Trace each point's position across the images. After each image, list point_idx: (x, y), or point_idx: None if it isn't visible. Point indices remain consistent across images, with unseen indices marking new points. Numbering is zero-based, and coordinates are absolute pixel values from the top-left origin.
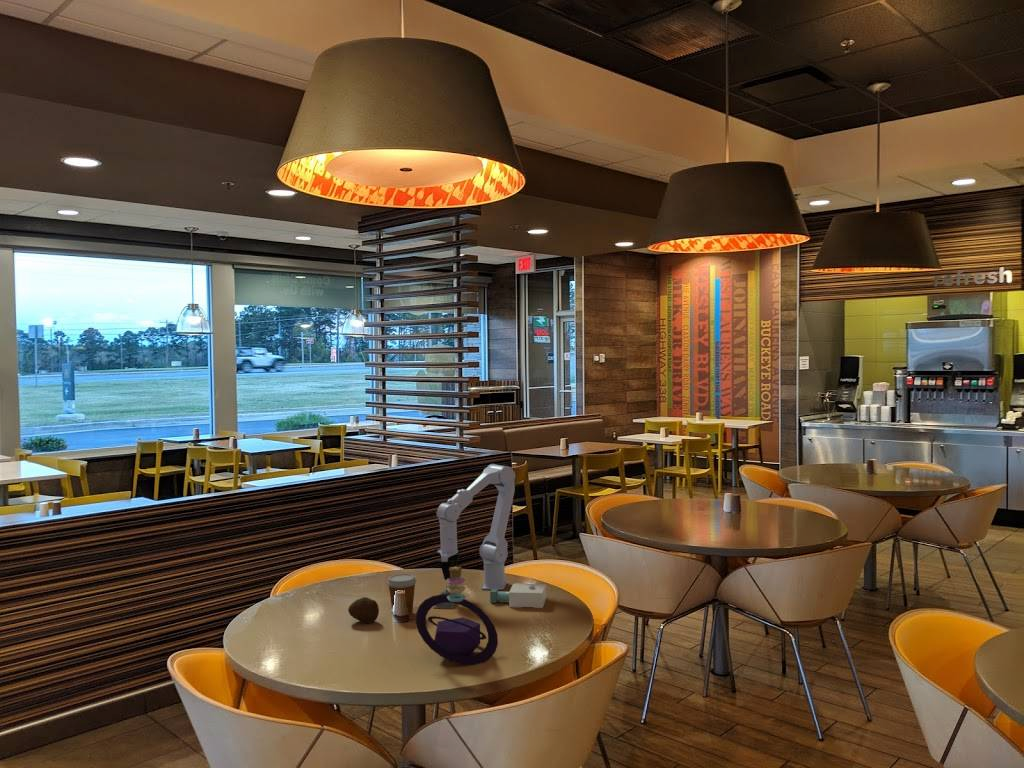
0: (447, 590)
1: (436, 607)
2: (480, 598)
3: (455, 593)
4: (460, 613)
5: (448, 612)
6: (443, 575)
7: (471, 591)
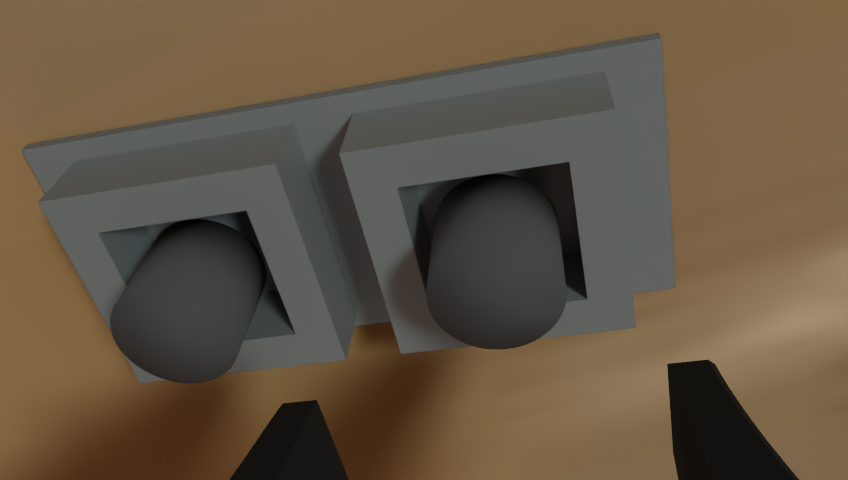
0: (432, 249)
1: (44, 190)
2: (565, 476)
3: (436, 333)
4: (62, 444)
5: (17, 346)
6: (241, 464)
7: (832, 334)
